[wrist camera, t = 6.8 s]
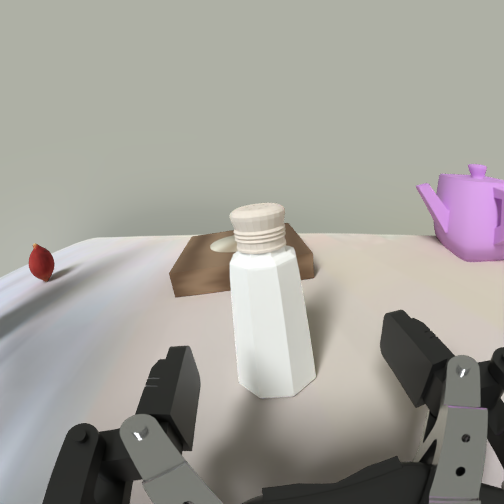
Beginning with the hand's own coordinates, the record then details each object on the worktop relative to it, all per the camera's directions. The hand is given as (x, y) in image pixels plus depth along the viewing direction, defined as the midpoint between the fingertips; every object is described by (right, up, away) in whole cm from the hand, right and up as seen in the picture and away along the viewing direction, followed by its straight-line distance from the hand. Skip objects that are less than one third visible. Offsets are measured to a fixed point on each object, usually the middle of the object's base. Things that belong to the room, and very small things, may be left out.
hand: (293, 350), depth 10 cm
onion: (-43, -2, +33) cm, 54 cm away
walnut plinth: (-3, +2, +28) cm, 28 cm away
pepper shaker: (0, -4, +7) cm, 8 cm away
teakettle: (+32, +5, +21) cm, 39 cm away
